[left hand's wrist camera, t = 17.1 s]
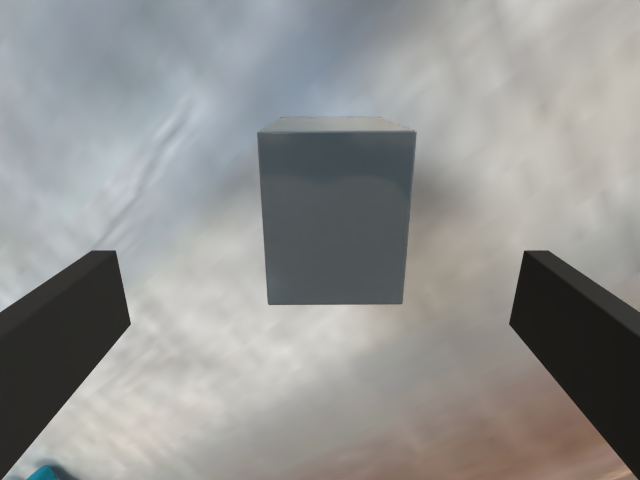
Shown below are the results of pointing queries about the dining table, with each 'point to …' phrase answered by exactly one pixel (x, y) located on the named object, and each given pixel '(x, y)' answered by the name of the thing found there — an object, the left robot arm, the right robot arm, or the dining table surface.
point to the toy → (43, 474)
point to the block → (335, 209)
